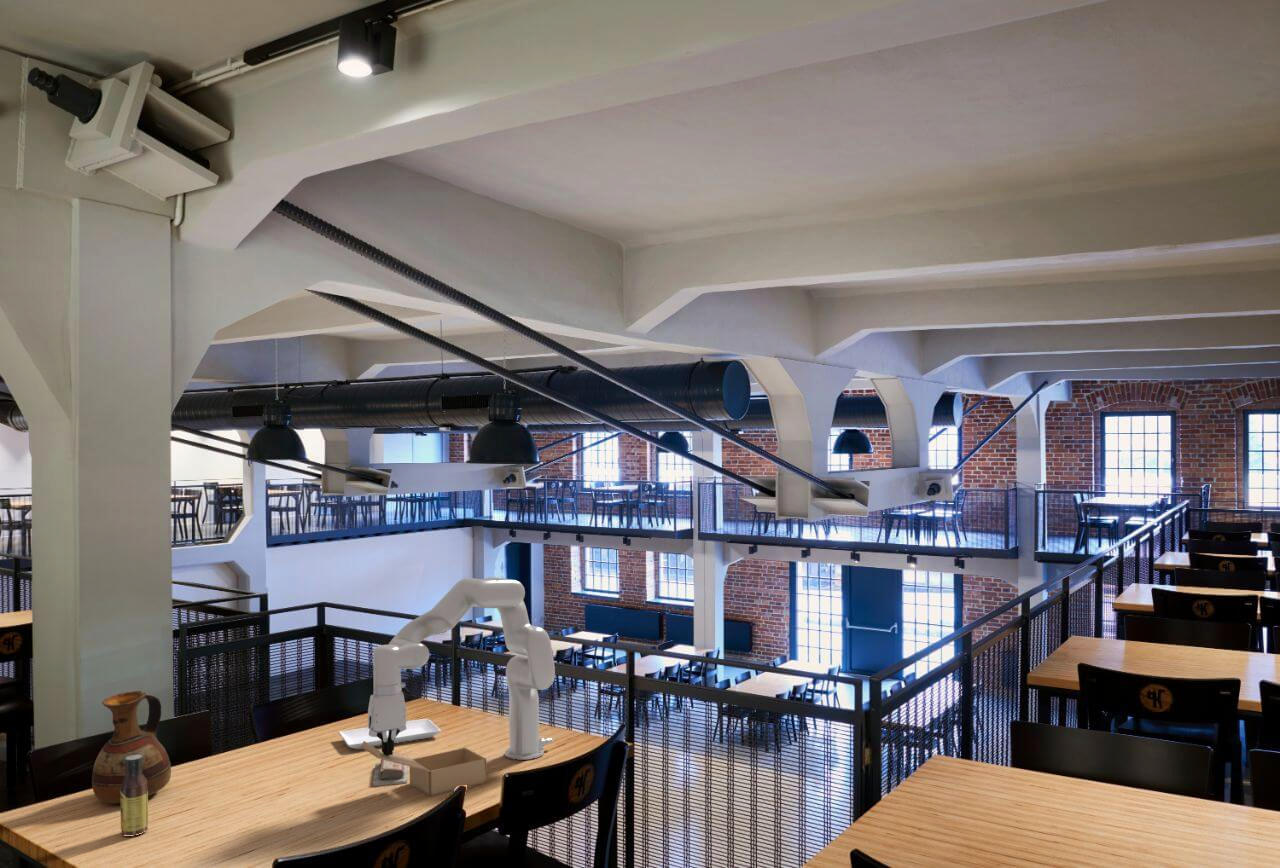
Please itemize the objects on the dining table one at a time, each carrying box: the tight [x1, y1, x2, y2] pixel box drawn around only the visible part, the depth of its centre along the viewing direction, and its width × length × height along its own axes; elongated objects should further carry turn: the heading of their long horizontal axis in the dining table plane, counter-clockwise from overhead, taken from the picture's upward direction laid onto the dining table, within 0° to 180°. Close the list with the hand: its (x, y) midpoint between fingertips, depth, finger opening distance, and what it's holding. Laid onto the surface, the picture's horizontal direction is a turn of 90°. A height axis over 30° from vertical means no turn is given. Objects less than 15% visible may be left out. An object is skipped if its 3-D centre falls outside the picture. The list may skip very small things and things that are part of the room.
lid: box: [360, 741, 427, 770], centre depth 266 cm, size 16×14×2 cm
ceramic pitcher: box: [91, 690, 172, 804], centre depth 269 cm, size 20×20×30 cm
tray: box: [338, 718, 442, 750], centre depth 319 cm, size 17×31×4 cm, turn 119°
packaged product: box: [372, 752, 409, 787], centre depth 283 cm, size 18×5×10 cm
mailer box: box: [409, 747, 488, 798], centre depth 275 cm, size 18×14×7 cm
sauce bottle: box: [120, 755, 149, 836], centre depth 241 cm, size 7×6×20 cm
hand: (387, 754), depth 265 cm, fingers closed
